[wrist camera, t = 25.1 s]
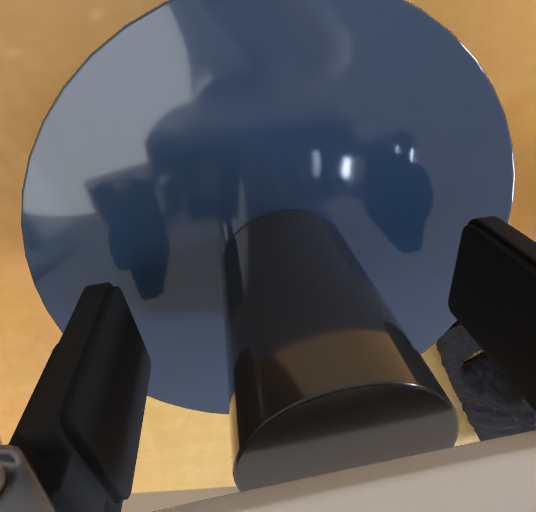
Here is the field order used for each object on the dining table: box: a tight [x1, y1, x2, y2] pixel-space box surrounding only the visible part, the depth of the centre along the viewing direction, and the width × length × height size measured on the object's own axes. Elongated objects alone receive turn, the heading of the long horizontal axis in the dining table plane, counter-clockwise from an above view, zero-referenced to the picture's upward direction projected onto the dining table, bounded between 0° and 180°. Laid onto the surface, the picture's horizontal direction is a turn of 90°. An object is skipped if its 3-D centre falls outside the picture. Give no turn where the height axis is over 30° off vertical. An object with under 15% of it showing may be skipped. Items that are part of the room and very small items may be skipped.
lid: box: [21, 0, 515, 492], centre depth 9 cm, size 15×15×7 cm
